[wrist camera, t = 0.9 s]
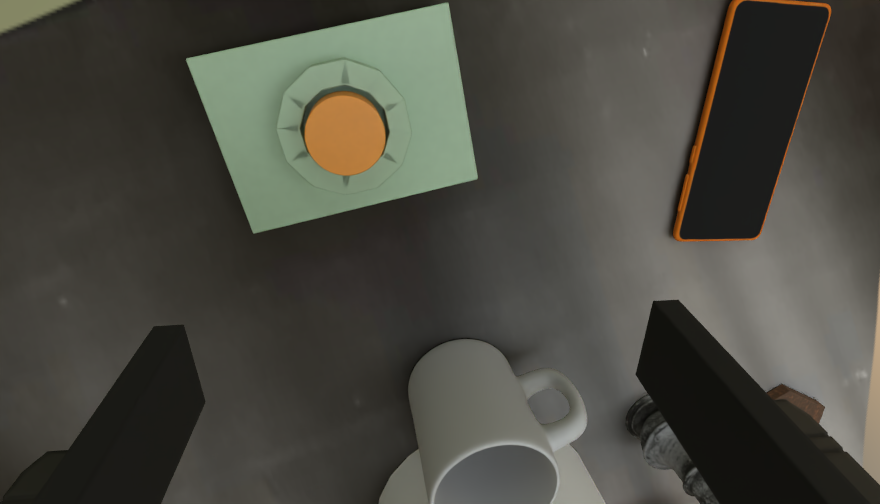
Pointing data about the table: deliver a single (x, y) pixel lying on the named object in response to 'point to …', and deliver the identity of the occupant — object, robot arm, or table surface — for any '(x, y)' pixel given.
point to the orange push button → (345, 133)
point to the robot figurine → (798, 401)
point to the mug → (487, 427)
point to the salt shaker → (665, 448)
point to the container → (574, 500)
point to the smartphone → (749, 117)
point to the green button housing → (326, 71)
